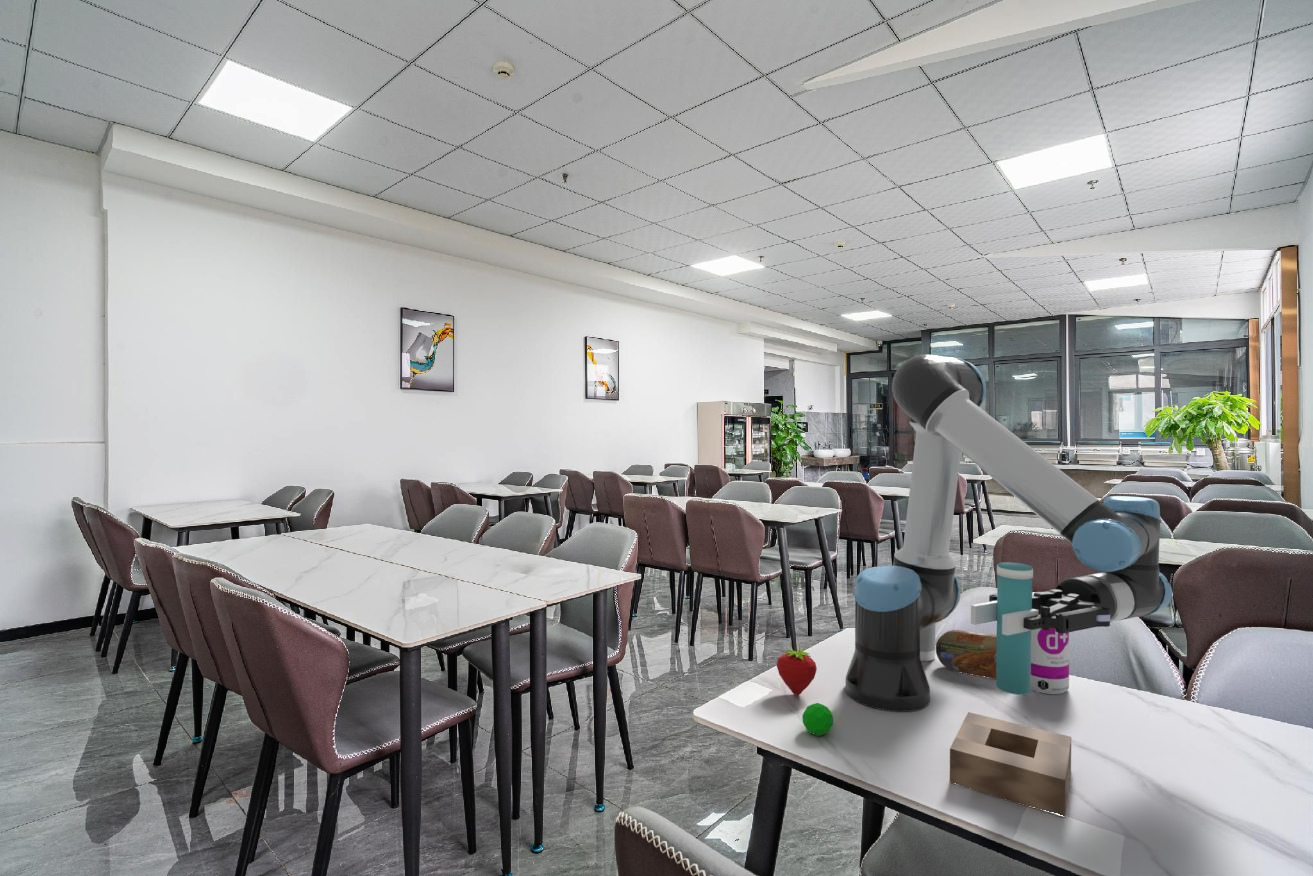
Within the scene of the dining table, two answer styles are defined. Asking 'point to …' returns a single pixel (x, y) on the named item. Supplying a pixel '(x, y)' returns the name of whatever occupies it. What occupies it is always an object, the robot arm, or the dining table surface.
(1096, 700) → the dining table surface
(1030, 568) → the peg
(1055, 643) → the supplement can
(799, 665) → the strawberry
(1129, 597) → the robot arm
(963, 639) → the tin
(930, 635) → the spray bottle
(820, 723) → the polyhedron
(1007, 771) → the socket block
